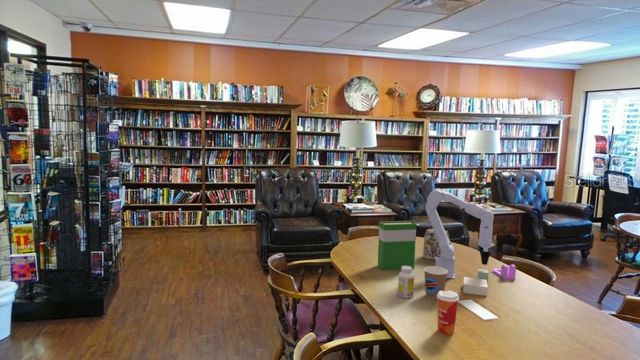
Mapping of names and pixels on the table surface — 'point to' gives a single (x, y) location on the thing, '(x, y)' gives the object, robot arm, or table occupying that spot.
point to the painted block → (475, 286)
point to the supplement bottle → (406, 282)
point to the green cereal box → (396, 244)
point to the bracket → (506, 272)
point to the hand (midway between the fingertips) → (483, 262)
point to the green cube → (483, 274)
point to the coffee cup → (434, 280)
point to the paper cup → (447, 311)
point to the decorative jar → (431, 245)
